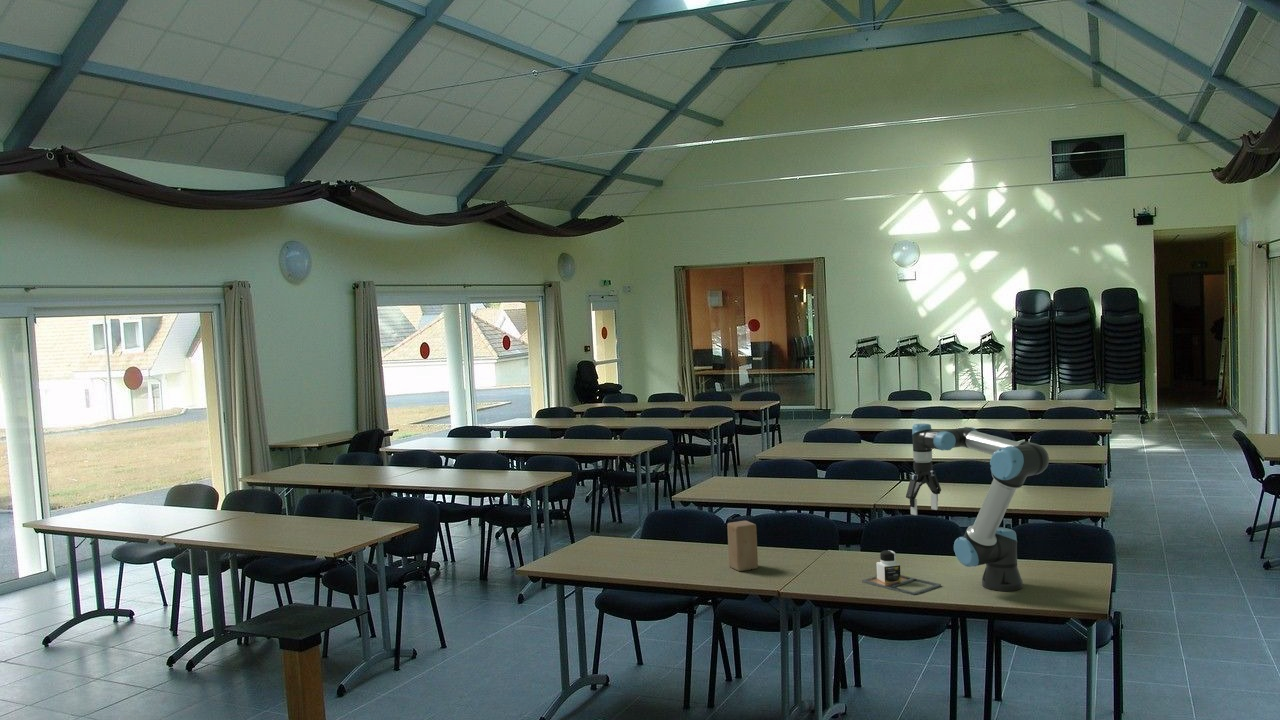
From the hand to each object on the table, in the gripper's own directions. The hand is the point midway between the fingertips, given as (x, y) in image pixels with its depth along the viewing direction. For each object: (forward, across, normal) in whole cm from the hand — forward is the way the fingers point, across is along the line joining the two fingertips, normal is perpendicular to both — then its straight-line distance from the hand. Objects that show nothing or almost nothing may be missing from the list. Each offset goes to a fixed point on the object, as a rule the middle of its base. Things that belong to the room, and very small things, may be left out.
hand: (924, 512), depth 404 cm
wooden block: (+27, +44, -64) cm, 82 cm away
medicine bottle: (+27, +17, -6) cm, 32 cm away
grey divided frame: (+27, +17, 0) cm, 32 cm away
